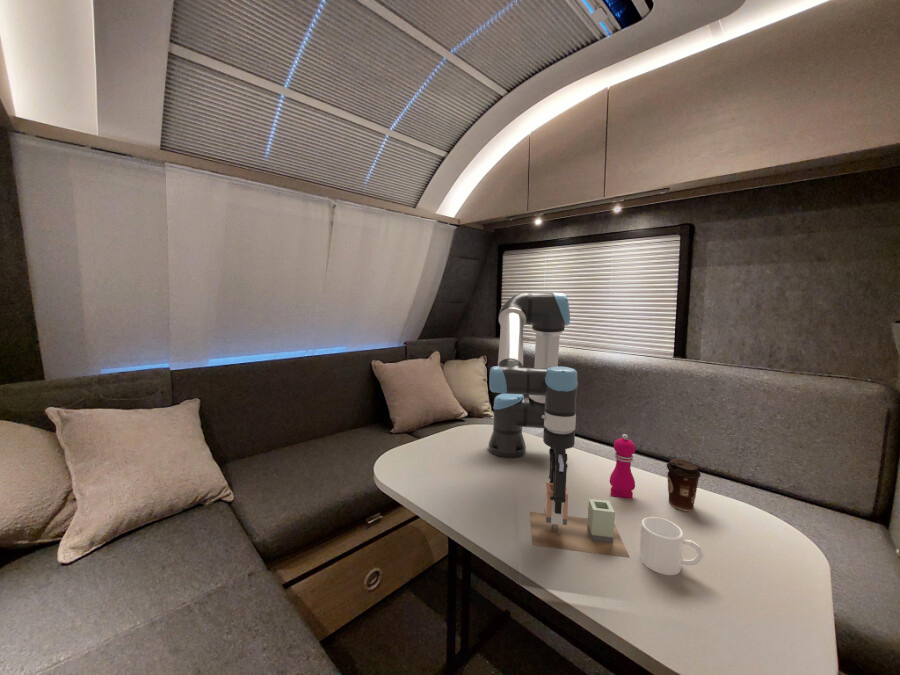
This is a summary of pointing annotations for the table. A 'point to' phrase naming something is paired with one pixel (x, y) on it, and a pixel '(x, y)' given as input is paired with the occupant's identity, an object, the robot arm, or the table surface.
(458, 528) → the table surface
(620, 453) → the pepper mill
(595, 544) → the pin board
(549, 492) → the terracotta sleeve
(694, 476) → the coffee cup
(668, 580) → the table surface
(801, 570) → the table surface
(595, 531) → the sage sleeve
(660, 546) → the mug
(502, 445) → the robot arm
